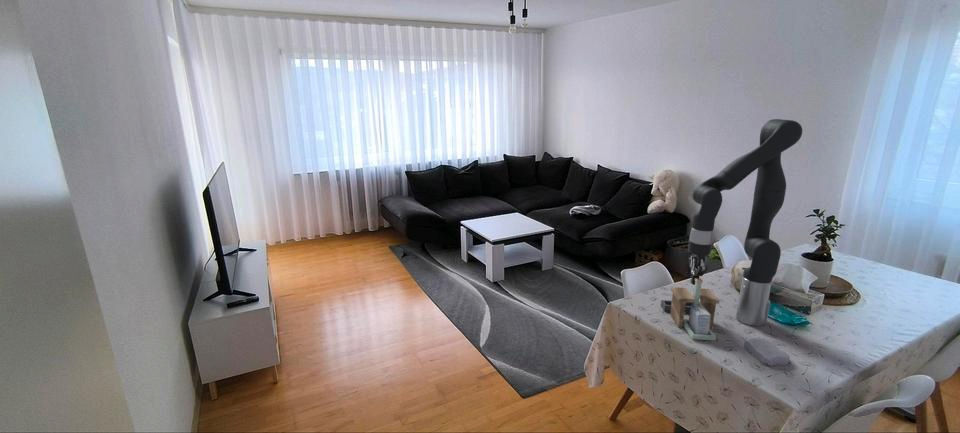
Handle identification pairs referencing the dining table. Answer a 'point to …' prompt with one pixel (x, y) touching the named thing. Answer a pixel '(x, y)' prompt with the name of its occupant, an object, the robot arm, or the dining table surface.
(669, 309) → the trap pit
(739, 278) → the coin bank
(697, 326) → the medicine box
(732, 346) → the dining table surface
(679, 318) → the tunnel
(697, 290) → the slider
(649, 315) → the dining table surface
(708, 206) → the robot arm
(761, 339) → the stone block
